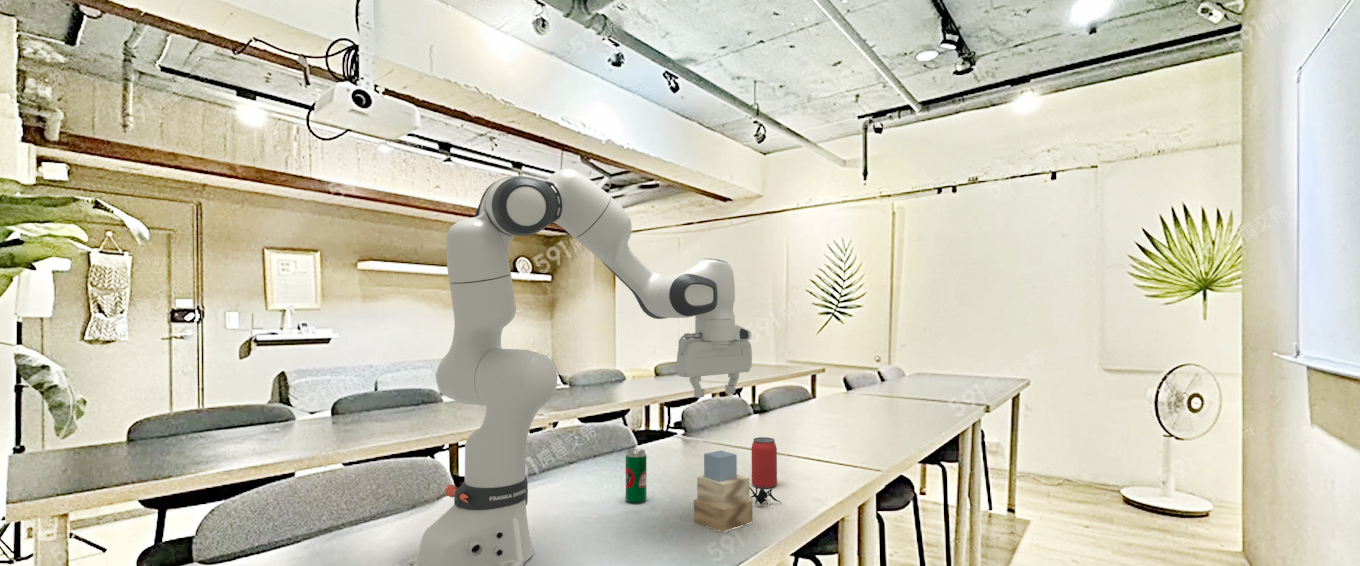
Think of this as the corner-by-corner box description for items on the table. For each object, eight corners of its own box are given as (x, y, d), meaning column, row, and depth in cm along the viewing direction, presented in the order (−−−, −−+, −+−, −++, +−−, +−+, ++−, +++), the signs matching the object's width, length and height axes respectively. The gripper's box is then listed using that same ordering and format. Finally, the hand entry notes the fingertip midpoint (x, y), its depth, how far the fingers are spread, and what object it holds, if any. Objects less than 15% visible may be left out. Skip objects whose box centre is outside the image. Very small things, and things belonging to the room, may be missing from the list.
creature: (753, 502, 152) (741, 503, 145) (755, 479, 153) (743, 480, 146) (784, 506, 148) (773, 508, 141) (785, 483, 149) (775, 484, 143)
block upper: (723, 509, 128) (723, 484, 129) (697, 500, 135) (697, 477, 135) (749, 501, 134) (749, 477, 134) (723, 492, 140) (723, 470, 140)
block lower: (723, 534, 128) (722, 510, 128) (693, 523, 135) (693, 499, 135) (752, 524, 134) (752, 501, 134) (723, 513, 140) (723, 491, 141)
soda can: (643, 504, 146) (643, 453, 147) (623, 503, 147) (623, 452, 148) (648, 498, 151) (648, 448, 152) (628, 497, 152) (629, 448, 153)
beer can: (747, 483, 163) (746, 438, 164) (768, 480, 166) (767, 435, 167) (760, 490, 157) (760, 443, 158) (782, 487, 160) (781, 440, 161)
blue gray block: (719, 481, 131) (719, 458, 131) (704, 476, 135) (704, 453, 135) (736, 477, 134) (736, 454, 134) (721, 472, 138) (720, 450, 138)
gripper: (689, 333, 128) (689, 401, 127) (756, 331, 141) (756, 392, 140) (669, 333, 132) (669, 397, 132) (736, 331, 146) (736, 390, 145)
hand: (715, 395), depth 136 cm, fingers open, 8 cm apart
